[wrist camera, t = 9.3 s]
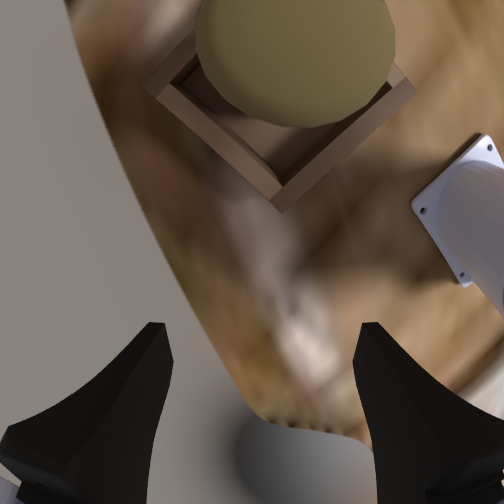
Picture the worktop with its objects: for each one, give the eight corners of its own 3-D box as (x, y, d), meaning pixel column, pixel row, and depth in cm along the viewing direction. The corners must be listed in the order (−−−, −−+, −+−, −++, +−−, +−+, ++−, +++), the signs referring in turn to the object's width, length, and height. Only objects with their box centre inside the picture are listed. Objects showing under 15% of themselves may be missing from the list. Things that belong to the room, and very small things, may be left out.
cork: (278, 141, 17) (300, 207, 7) (199, 67, 15) (110, 35, 6) (356, 71, 15) (472, 55, 5) (278, -4, 13) (297, -114, 3)
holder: (392, 91, 16) (417, 92, 13) (279, 193, 20) (282, 213, 16) (277, -22, 13) (281, -45, 10) (162, 87, 17) (141, 86, 14)
